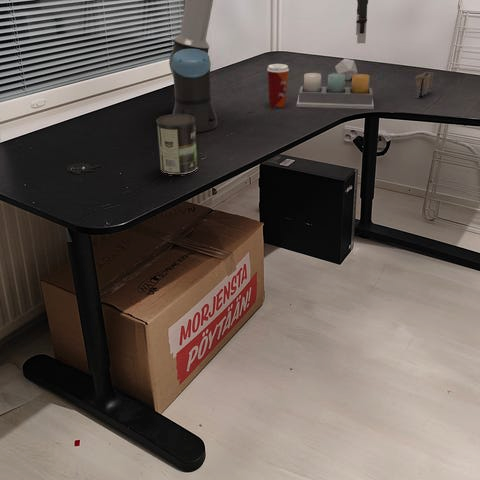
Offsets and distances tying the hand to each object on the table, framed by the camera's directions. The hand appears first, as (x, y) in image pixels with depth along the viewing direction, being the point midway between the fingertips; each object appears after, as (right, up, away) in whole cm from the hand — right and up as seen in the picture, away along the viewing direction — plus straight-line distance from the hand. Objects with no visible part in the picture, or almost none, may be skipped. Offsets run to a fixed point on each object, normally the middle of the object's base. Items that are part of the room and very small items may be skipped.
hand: (360, 39), depth 208 cm
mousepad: (-82, -50, -39) cm, 104 cm away
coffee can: (-58, -50, -41) cm, 87 cm away
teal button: (-7, -16, +10) cm, 20 cm away
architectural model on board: (+27, -15, +20) cm, 37 cm away
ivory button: (-15, -15, +11) cm, 24 cm away
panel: (-7, -19, +12) cm, 24 cm away
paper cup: (-28, -21, +10) cm, 36 cm away
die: (+2, -3, +41) cm, 41 cm away
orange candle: (+1, -16, +9) cm, 19 cm away
